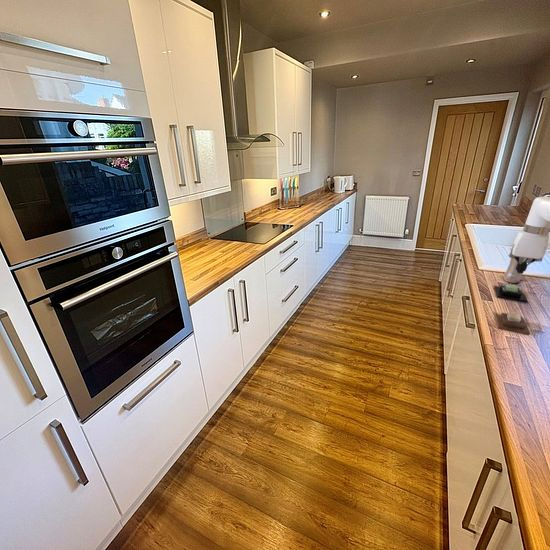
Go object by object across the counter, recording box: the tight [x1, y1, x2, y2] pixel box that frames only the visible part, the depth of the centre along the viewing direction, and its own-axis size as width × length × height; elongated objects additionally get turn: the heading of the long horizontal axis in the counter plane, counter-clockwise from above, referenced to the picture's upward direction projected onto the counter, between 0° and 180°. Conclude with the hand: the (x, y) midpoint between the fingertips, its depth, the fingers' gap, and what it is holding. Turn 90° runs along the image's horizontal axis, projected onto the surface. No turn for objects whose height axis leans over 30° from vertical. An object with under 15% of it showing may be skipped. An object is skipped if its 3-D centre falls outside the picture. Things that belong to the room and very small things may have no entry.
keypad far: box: [493, 284, 527, 304], centre depth 128 cm, size 10×10×3 cm
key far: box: [505, 283, 519, 292], centre depth 127 cm, size 4×4×2 cm
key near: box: [506, 312, 521, 323], centre depth 107 cm, size 3×3×2 cm
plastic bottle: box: [502, 257, 526, 284], centre depth 136 cm, size 6×7×20 cm
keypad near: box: [494, 312, 531, 336], centre depth 108 cm, size 9×9×3 cm
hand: (519, 272), depth 121 cm, fingers closed
